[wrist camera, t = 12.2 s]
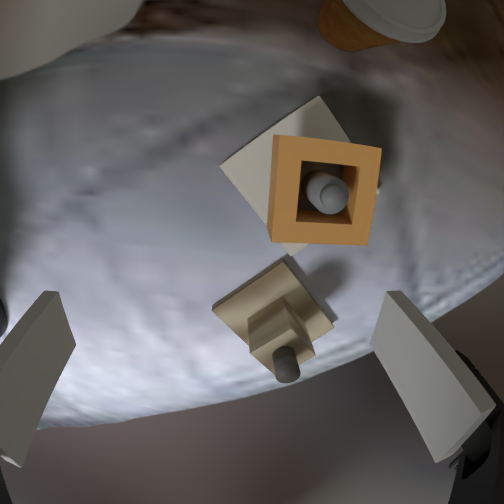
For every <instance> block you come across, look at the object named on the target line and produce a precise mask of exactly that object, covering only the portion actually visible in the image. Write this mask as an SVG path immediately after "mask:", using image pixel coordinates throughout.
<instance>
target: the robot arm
mask: <svg viewBox="0 0 504 504" xmlns="http://www.w3.org/2000/svg"><path fill="white" fill-rule="evenodd" d="M6 328H7V319H6V314H5V310H4V307H3V305H2V302H1V300H0V337H1V336H2V335H3V334H4V333H5V331H6ZM370 345H371V347H372V348H373V350H374V352H375V353H376V355H377V357H378V358H379V360H380V362H381V363H382V365H383V367H384V369H385V370H386V372H387V374H388V375H389V377H390V379H391V381H392V382H393V384H394V386H395V387H396V389H397V391H398V393H399V395H400V397H401V398H402V400H403V402H404V404H405V405H406V407H407V409H408V411H409V413H410V414H411V417H412V418H413V420H414V422H415V424H416V426H417V428H418V429H419V431H420V433H421V435H422V437H423V439H424V441H425V443H426V445H427V447H428V449H429V451H430V453H431V455H432V457H433V459H434V461H435V462H436V463H437V462H439V461H441V460H443V459H445V458H447V457H449V456H451V455H452V454H453V453H454V452H455V451H456V450H457V449H458V448H459V447H460V446H462V448H463V452H461V454H459V455H458V457H456V458H455V459H454V460H453V461H452V462H451V463H450V465H449V468H452V467H453V466H454V465H455V464H456V463H457V462H458V461H459V462H458V465H457V466H456V467H455V468H454V469H455V470H457V472H456V476H455V480H454V484H453V488H452V492H451V495H450V499H449V502H448V504H504V403H503V402H502V401H501V400H500V399H499V397H498V396H497V395H496V393H495V392H494V391H493V389H492V388H491V387H490V386H489V384H488V383H487V382H486V380H485V379H484V378H483V376H481V374H480V373H479V371H478V370H477V369H475V366H474V365H473V364H472V363H471V361H470V360H469V359H468V358H467V357H466V356H464V355H463V354H461V353H460V352H459V351H457V350H456V351H454V350H453V349H452V347H451V346H450V345H449V344H448V342H447V341H446V340H445V339H444V338H443V337H442V335H441V334H440V333H439V332H438V331H437V330H436V329H435V327H434V326H433V325H432V324H431V323H430V322H429V321H428V319H427V318H426V317H425V316H424V315H423V314H422V313H421V312H420V311H419V309H418V308H417V307H416V306H415V305H414V304H413V303H412V302H411V301H410V300H409V299H408V298H407V297H406V295H405V294H404V293H403V292H402V291H387V292H386V294H385V297H384V301H383V304H382V307H381V311H380V314H379V317H378V320H377V323H376V327H375V330H374V333H373V336H372V338H371V341H370ZM75 346H76V343H75V340H74V337H73V335H72V332H71V329H70V326H69V323H68V320H67V317H66V314H65V311H64V308H63V305H62V302H61V298H60V295H59V292H57V291H44V292H43V293H42V294H41V295H40V296H39V297H38V299H37V300H36V301H35V302H34V303H33V304H32V306H31V307H30V308H29V309H28V310H27V312H26V313H25V314H24V315H23V316H22V318H21V319H20V320H19V321H18V323H17V324H16V325H15V326H14V328H13V329H12V330H11V331H10V333H9V334H8V335H7V337H6V338H5V339H4V341H3V342H2V343H1V345H0V455H1V456H2V457H3V458H4V459H5V460H6V461H8V462H10V463H12V464H14V465H16V466H18V467H20V468H22V465H23V462H24V459H25V456H26V454H27V451H28V448H29V446H30V443H31V440H32V438H33V435H34V433H35V430H36V428H37V426H38V423H39V421H40V418H41V416H42V414H43V411H44V409H45V407H46V405H47V402H48V400H49V398H50V396H51V394H52V392H53V390H54V387H55V385H56V383H57V381H58V379H59V377H60V375H61V373H62V371H63V369H64V367H65V365H66V363H67V361H68V359H69V357H70V356H71V354H72V352H73V350H74V348H75ZM0 504H12V501H11V498H10V496H9V493H8V490H7V487H6V484H5V481H4V478H3V475H2V471H1V468H0Z"/></svg>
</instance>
